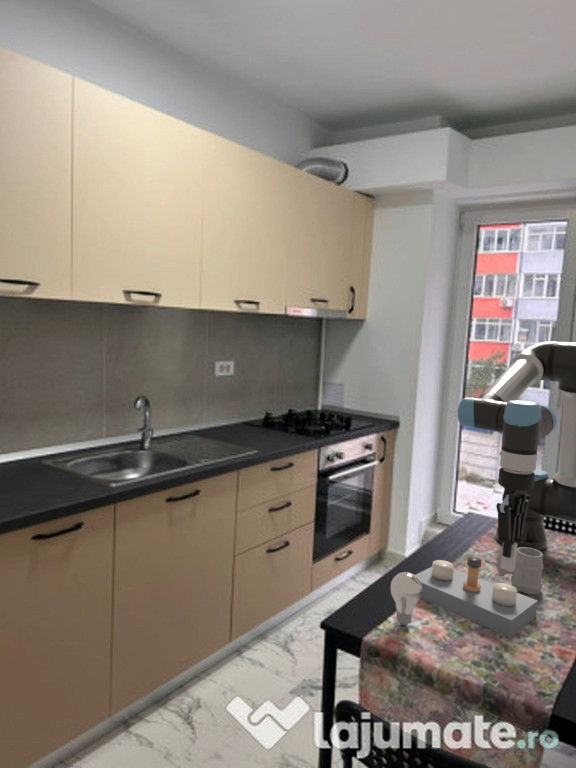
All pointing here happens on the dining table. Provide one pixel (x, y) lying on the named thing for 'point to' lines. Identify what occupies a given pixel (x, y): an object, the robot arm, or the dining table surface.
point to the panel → (477, 602)
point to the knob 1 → (442, 570)
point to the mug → (525, 570)
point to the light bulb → (405, 595)
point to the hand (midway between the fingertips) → (507, 569)
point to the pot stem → (472, 575)
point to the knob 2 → (504, 594)
